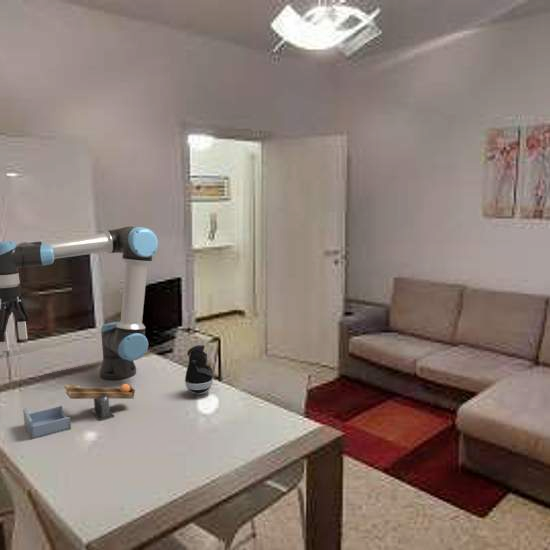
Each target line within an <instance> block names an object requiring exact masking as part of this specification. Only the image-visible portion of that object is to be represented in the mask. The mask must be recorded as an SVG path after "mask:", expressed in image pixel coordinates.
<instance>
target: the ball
mask: <svg viewBox="0 0 550 550" xmlns="http://www.w3.org/2000/svg"><path fill="white" fill-rule="evenodd" d="M129 385H130V384H128V383H123V384H122V385H121V386H120V387H119V388H120V391H121V392H122V393H129V392H130V386H131V385H130V386H129Z"/></svg>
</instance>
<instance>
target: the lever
mask: <svg viewBox="0 0 550 550" xmlns="http://www.w3.org/2000/svg"><path fill="white" fill-rule="evenodd" d="M128 385H129V386H130V392H129V393H122V392H121V391H120V387H100V388H99V387H81V385H78V384H77V385H76V384H65V385H64V389H65V390H66V391H65V392H66V393H65V394H66V395H67V396H68V397H69V399H71V400H72V399H74V400H75V399H80V400H82V399H83V400H84V399H86V400H87V399H88V400H89V399H91V400H92V399H93V400H94V399H100V396H103V395H108V398H109V399H110V400H111V399H113V400H114V399H116V400H118V399H119V400H120V399H121V400H123V399H126V400H127V399H128V400H129V399H132V400H133V399H134V398H135V393H136V389H135V388H134V387H133V386H131V385H130V384H128Z"/></svg>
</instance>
